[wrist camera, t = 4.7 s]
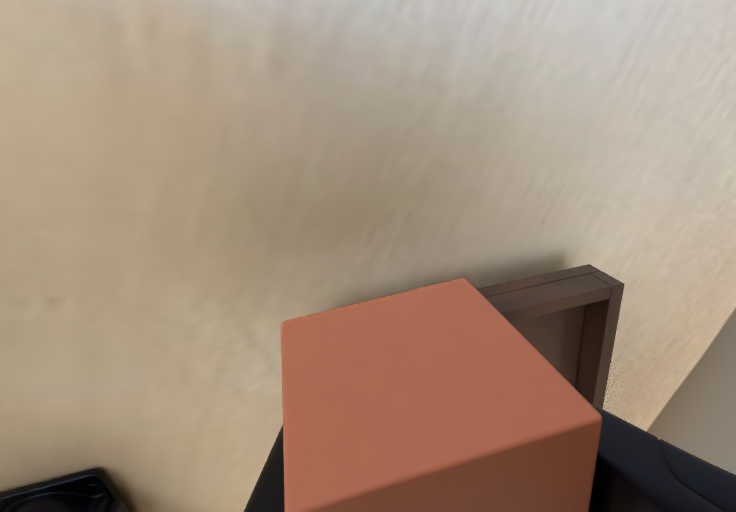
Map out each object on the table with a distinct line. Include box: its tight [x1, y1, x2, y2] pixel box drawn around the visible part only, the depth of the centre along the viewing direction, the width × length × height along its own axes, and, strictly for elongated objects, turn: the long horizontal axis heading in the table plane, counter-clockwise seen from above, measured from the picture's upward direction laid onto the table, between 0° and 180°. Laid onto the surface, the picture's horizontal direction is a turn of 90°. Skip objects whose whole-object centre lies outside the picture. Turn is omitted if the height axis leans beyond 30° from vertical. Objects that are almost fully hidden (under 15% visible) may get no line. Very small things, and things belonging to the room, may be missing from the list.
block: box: [281, 278, 603, 512], centre depth 8 cm, size 4×4×4 cm
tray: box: [477, 264, 624, 409], centre depth 20 cm, size 14×20×11 cm
